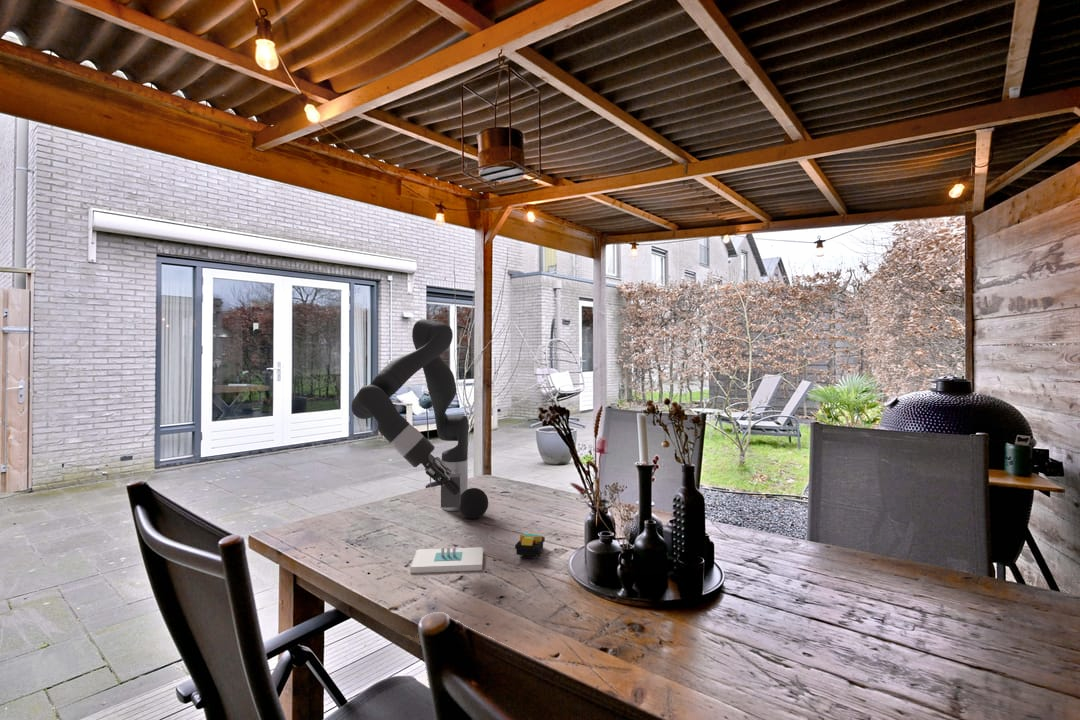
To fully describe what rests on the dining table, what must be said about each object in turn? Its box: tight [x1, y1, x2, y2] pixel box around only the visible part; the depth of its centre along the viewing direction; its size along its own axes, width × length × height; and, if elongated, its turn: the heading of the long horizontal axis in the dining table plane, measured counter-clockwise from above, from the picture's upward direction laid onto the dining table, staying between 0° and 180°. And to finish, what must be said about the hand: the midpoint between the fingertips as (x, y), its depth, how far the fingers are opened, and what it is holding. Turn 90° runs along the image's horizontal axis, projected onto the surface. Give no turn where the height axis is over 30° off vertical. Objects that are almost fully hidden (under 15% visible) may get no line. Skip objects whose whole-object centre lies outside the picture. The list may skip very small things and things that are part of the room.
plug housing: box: [440, 474, 461, 509], centre depth 141 cm, size 5×4×8 cm
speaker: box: [458, 487, 489, 520], centre depth 178 cm, size 10×10×10 cm
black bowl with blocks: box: [514, 532, 546, 559], centre depth 146 cm, size 6×13×6 cm, turn 170°
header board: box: [409, 546, 484, 574], centre depth 140 cm, size 18×12×4 cm, turn 95°
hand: (458, 490), depth 142 cm, fingers closed on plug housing, 4 cm apart
